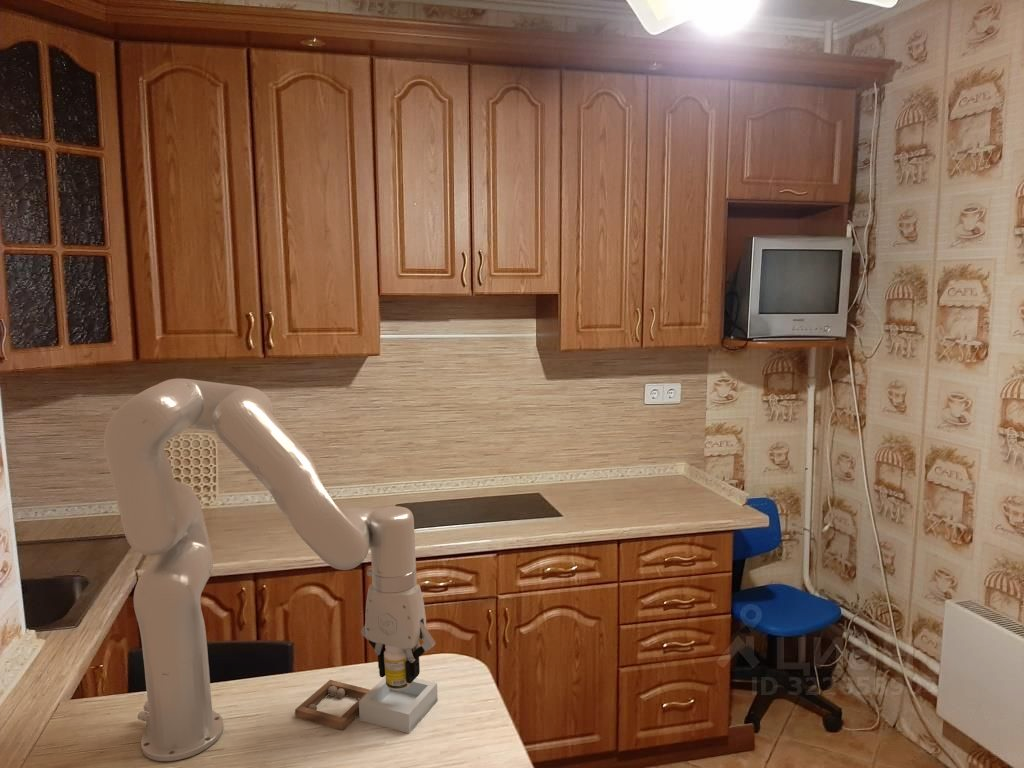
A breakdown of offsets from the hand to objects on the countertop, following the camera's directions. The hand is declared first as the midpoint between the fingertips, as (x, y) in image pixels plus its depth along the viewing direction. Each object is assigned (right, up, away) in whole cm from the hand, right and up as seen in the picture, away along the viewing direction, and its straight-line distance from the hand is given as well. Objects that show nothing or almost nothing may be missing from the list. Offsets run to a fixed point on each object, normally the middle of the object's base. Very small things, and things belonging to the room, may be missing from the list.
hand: (399, 675), depth 125 cm
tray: (-12, -7, +2) cm, 13 cm away
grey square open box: (0, -7, +1) cm, 7 cm away
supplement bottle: (0, -2, 0) cm, 2 cm away
